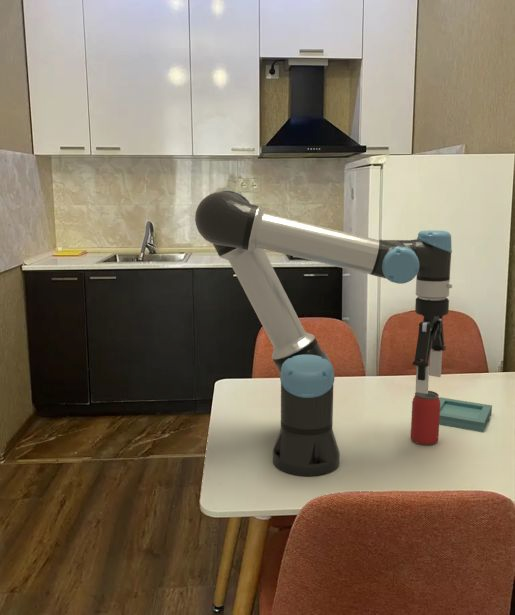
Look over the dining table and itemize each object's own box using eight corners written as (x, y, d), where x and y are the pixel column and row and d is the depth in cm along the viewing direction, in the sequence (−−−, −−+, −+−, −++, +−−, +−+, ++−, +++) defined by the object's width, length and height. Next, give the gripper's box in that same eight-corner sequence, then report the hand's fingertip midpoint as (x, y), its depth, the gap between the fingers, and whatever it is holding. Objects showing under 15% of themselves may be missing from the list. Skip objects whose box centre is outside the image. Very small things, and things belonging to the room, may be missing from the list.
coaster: (483, 432, 154) (484, 422, 153) (427, 422, 160) (428, 413, 160) (491, 414, 166) (492, 405, 165) (439, 405, 172) (439, 397, 172)
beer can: (439, 447, 145) (442, 399, 143) (411, 444, 146) (413, 397, 144) (437, 436, 151) (439, 390, 149) (409, 434, 153) (412, 388, 150)
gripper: (436, 308, 129) (432, 402, 134) (459, 289, 151) (454, 371, 155) (401, 305, 133) (398, 397, 137) (428, 287, 154) (425, 368, 158)
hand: (428, 384), depth 146 cm, fingers open, 13 cm apart
